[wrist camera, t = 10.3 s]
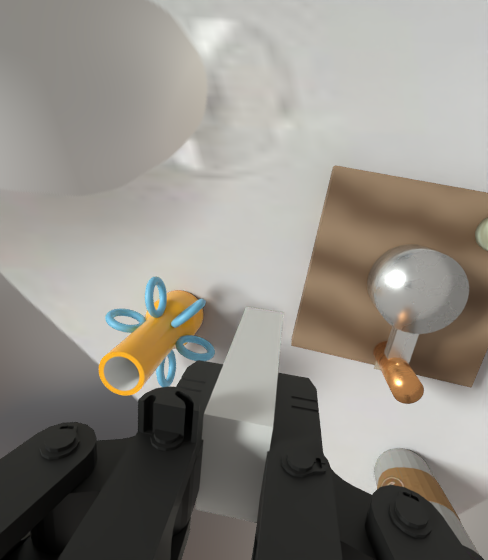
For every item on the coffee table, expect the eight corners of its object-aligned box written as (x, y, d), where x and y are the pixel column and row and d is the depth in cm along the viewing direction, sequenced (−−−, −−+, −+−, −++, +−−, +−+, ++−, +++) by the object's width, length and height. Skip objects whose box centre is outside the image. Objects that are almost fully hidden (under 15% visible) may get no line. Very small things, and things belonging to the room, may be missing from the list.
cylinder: (172, 368, 44) (112, 452, 30) (121, 306, 43) (33, 363, 29) (244, 318, 41) (217, 386, 27) (191, 250, 40) (132, 282, 25)
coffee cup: (391, 427, 42) (442, 551, 27) (449, 462, 42) (530, 604, 27) (352, 472, 44) (379, 607, 30) (406, 505, 44) (460, 656, 30)
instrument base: (332, 167, 35) (337, 164, 32) (534, 203, 33) (561, 204, 30) (290, 341, 41) (290, 354, 37) (461, 380, 39) (477, 399, 35)
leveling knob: (379, 237, 34) (402, 249, 27) (460, 253, 33) (508, 269, 26) (345, 353, 38) (358, 392, 30) (418, 370, 37) (449, 414, 29)
